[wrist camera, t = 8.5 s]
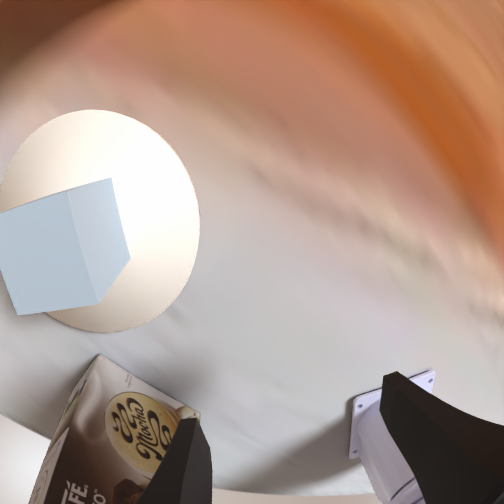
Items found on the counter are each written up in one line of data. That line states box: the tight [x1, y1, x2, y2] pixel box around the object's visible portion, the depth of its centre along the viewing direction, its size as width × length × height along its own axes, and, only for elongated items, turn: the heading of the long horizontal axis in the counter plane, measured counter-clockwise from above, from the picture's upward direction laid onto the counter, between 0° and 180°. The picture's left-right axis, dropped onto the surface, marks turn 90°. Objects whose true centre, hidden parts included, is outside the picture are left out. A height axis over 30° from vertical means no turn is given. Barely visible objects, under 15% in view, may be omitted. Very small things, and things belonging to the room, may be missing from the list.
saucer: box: [0, 110, 200, 333], centre depth 16 cm, size 13×13×1 cm
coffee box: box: [29, 354, 200, 504], centre depth 14 cm, size 9×6×16 cm
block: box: [0, 177, 131, 316], centre depth 13 cm, size 4×4×6 cm
